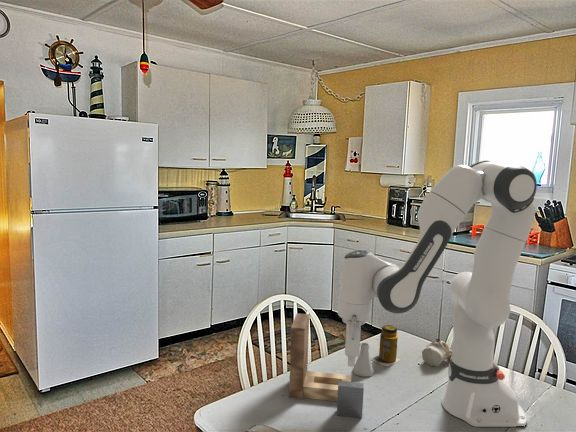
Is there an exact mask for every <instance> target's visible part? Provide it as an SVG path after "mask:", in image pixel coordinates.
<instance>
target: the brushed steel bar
mask: <svg viewBox="0 0 576 432" xmlns="http://www.w3.org/2000/svg"><path fill="white" fill-rule="evenodd" d="M364 390H365V387H364V382H358V381H351V382H349V381H339V382H338V399H337V401H336V403H337V404H336V417H343V418H344V417H345V418H352V419H353V418H354V419H363V407H364V406H363V405H364Z"/></svg>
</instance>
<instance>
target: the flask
mask: <svg viewBox="0 0 576 432" xmlns="http://www.w3.org/2000/svg"><path fill="white" fill-rule="evenodd" d="M370 345H371V344H370V343H369V342H366V341H365V342H364V341H363V342H361V341H360V350H359V356H358V357H357V359H356V360H355V365H354V367H352V373H353V374H354V375H356V376H359V377H362V378H363V377H365V378H366V377H372V376H373V375H374V374H375V371H374V367H373V365H372V360H371V358H370V357H371V356H370V352H369V349H370Z"/></svg>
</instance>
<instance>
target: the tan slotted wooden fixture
mask: <svg viewBox="0 0 576 432" xmlns="http://www.w3.org/2000/svg"><path fill="white" fill-rule="evenodd" d="M309 331H310V314H309V313H298V312H297V313H296V314H295V317H294V319H293V322H292V325H291V328H290V355H289V357H290V358H289V385H288V386H289V388H288V398H289V399H297V400H303V399H313V400H321V401H322V400H323V401H329V402H330V401H331V402H337V399H338V382H339V381H349V382H352V375H351V374H341V373H334V372H333V373H332V372H319V371H311V370H308V362H309V361H308V359H309V358H308V356H309V334H310V332H309Z"/></svg>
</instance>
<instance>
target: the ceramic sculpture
mask: <svg viewBox="0 0 576 432" xmlns="http://www.w3.org/2000/svg"><path fill="white" fill-rule="evenodd" d="M451 356H452V350H451V351H450V349H449V346H448V344H447V343H446V342H445V341H443V340H441V339H440V338H436V339H434V340H433V341H431V343H429V344H428V345H426V347H425V348H424V349H422V351H421V357H422V360H423V361H424V363H425V364H427V365H428V366H430V367H439V366H440V365H441V364H442V363H443V362H444V361H446V360H447V361H448V360H449V361H450V358H451Z"/></svg>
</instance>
